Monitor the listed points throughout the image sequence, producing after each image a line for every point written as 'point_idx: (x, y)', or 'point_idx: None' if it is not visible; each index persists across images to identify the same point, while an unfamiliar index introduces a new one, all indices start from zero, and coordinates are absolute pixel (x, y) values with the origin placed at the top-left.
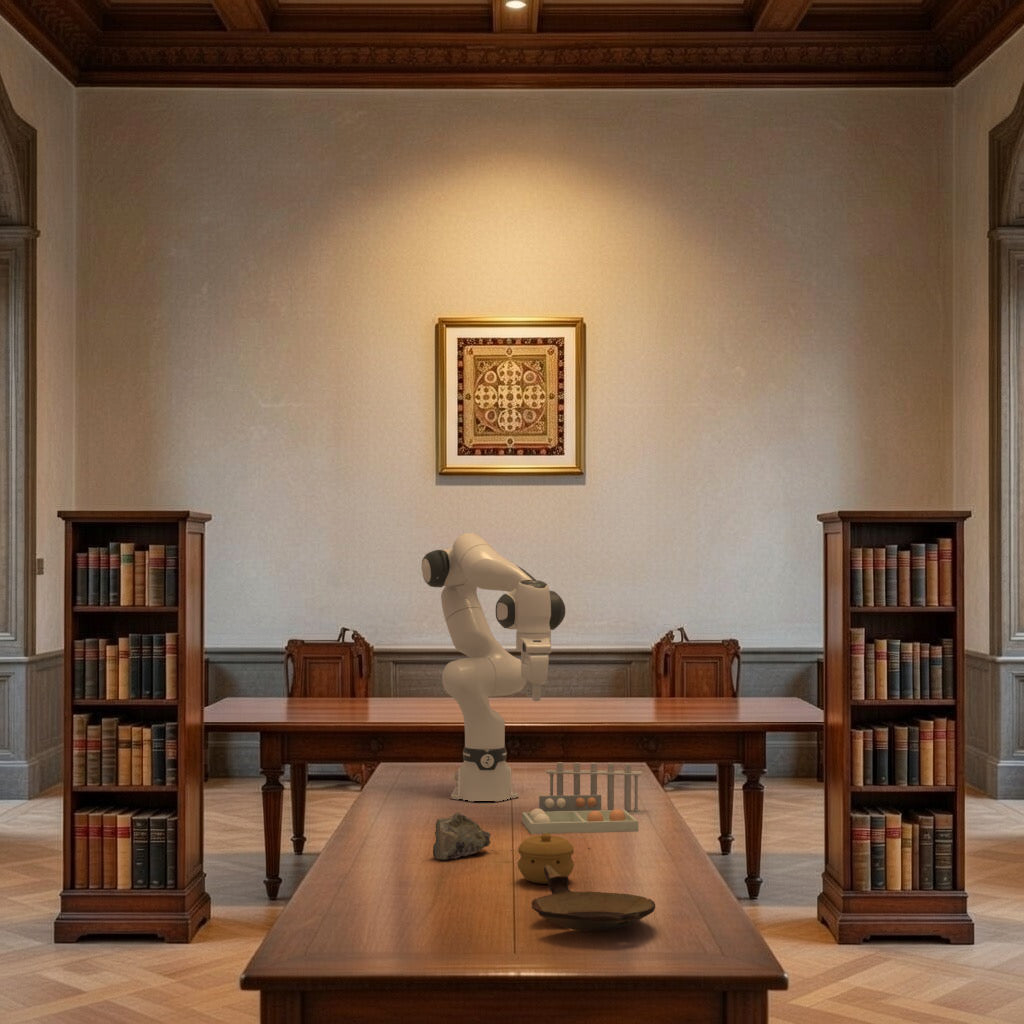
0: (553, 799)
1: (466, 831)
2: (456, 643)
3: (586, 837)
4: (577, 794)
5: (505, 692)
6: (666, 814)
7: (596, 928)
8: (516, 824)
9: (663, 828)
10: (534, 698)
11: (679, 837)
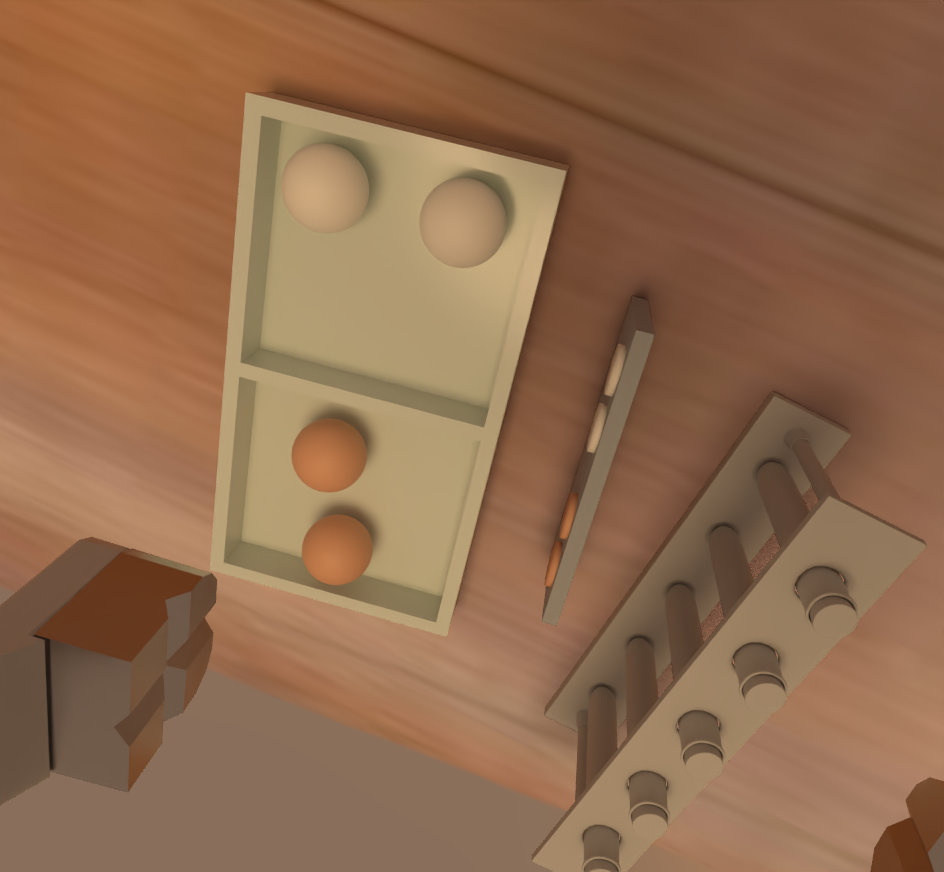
0: (611, 398)
1: None
2: None
3: (201, 331)
4: (717, 576)
5: None
6: (538, 786)
7: None
8: (579, 133)
9: (301, 658)
10: (59, 577)
11: None
